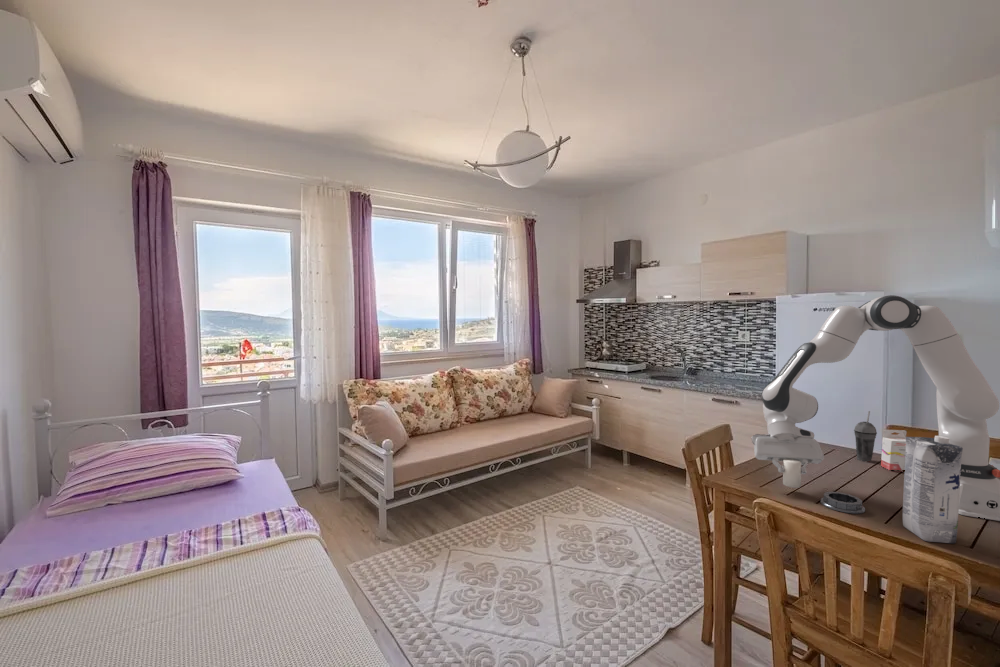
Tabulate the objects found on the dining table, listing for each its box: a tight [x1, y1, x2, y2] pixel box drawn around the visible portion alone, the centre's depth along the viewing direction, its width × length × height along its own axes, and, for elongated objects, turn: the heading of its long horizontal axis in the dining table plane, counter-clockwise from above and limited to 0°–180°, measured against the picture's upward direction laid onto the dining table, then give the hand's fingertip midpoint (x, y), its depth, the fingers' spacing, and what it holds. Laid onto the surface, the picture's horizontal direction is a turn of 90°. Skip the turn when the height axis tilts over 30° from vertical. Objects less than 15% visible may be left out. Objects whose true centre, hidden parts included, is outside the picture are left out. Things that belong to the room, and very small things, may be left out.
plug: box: [782, 459, 802, 489], centre depth 152 cm, size 5×5×8 cm
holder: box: [820, 491, 866, 515], centre depth 141 cm, size 11×11×3 cm
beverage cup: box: [853, 410, 878, 462], centre depth 184 cm, size 7×7×20 cm
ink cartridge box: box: [880, 429, 907, 471], centre depth 173 cm, size 9×5×15 cm, turn 84°
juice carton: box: [902, 435, 963, 544], centre depth 122 cm, size 9×10×27 cm
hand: (792, 472), depth 151 cm, fingers closed on plug, 5 cm apart
